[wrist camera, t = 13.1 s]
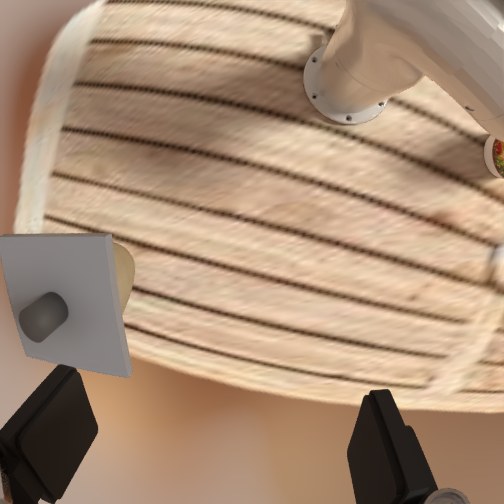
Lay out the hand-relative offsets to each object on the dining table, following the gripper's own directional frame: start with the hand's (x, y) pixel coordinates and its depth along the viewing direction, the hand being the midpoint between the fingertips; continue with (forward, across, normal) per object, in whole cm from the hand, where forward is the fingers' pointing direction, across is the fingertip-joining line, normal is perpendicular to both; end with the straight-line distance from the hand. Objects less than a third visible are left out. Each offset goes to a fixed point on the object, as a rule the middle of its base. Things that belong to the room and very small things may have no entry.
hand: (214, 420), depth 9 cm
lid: (+22, +23, +8) cm, 33 cm away
